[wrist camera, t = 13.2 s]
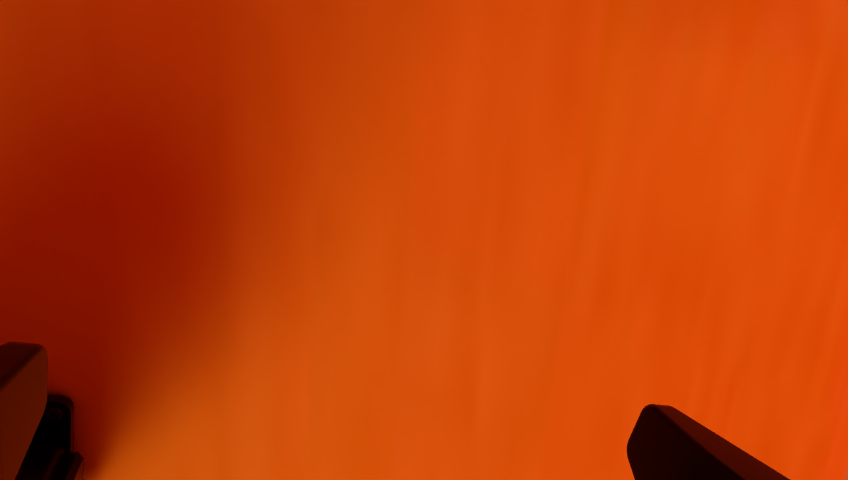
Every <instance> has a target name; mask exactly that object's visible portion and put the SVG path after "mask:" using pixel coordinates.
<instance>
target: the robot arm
mask: <svg viewBox="0 0 848 480" xmlns="http://www.w3.org/2000/svg"><path fill="white" fill-rule="evenodd" d="M50 408H57V409H60V410H61V411H62V413H59V414H57V413H53V412H52V411H51V410H50ZM627 456H628V460H629V463H630V466H631V469H632V472H633V475H634V478H635V480H790V479H788V478H787V477H785V476H783V475H782V474H780V473H778V472H777V471H775V470H774V469H772V468H770V467H769V466H767V465H766V464H764V463H762V462H761V461H759V460H758V459H756V458H754V457H753V456H751V455H749V454H748V453H746V452H745V451H743V450H741V449H740V448H738V447H737V446H735V445H733V444H732V443H730V442H729V441H727V440H725V439H724V438H722V437H720V436H719V435H717V434H716V433H714V432H712V431H711V430H709V429H708V428H706V427H704V426H703V425H701V424H700V423H698V422H696V421H695V420H693V419H691V418H690V417H688V416H687V415H685V414H683V413H682V412H680V411H679V410H677V409H675V408H674V407H671V406H667V405H656V404H649V405H647V406H645V407H644V408H643V410H642V411H641V414H640V416H639V418H638V420H637V422H636V425H635V427H634V429H633V431H632V434H631V436H630V438H629V440H628V444H627ZM83 471H84V458H83V457H82V455H81V454H80V453H79V452H74V404H73V402H72V401H71V400H70V399H69V398H67V397H66V396H62V395H48V394H47V352H46V349H45V348H44V347H43V346H42V345H40V344H30V343H20V342H8V343H6V344H3V345H1V346H0V480H83Z"/></svg>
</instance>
